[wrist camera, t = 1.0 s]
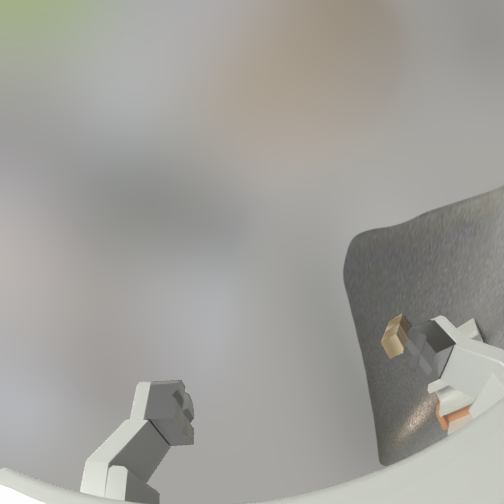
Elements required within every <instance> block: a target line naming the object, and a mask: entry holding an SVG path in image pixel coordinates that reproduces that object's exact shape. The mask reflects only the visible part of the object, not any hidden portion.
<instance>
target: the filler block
mask: <svg viewBox="0 0 504 504" xmlns="http://www.w3.org/2000/svg"><path fill="white" fill-rule="evenodd" d="M409 329H410V326H409V324H408V322H407V321H406V319H405V317H404V315H403V314H401V315H399V316H397V317H395V318H394V319H392V320H390V321H389V323H388V326H387V328H386V331H385V333H384V336H383V338H382V340H381V344H382V346H383V347H384V349H385V351H386V353H387V354H388V356H389V358H390V359H391V358H393V357H395V356H397V355H399V354H401V353H403V350H404V345H405V343H406V342H407V341H408V339H409V338H408V336H407V334H408V330H409Z"/></svg>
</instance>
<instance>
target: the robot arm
mask: <svg viewBox="0 0 504 504" xmlns="http://www.w3.org/2000/svg"><path fill="white" fill-rule="evenodd" d="M407 336H408V338H409V340H408V341H407V342H406V343H405V345H404V350H403V353H404V359H405V361H406V363H407V365H408V366H409V367H410V368H413V369H415V376H416V378H417V379H418V381H419V382H420V383H421V385H422V386H425V385H428V384H430V383H432V382H434V381H436V380H438V379H440V380H441V381H442V382H444V383H446V384H448V385H449V386H451V387H453V388H455V389H457V390H458V391H460V392H462V393H464V394H466V395H467V396H469V397H471V398H473V399H475V400H474V401H473V403H472V404H471V406H470V407H469V413H470V414H471V416H472V417H473V420H472V421H470V422H469V423H467V424H466V425H464V426H463V427H461V428H460V429H458V430H456V431H455V432H453V433H451V434H450V435H448V436H447V437H445V438H443V439H441V440H440V441H438V442H436V443H434V444H433V445H431V446H429V447H427V448H425V449H423V450H421V451H419V452H417V453H415V454H413V455H411V456H409V457H407V458H405V459H403V460H401V461H398V462H396V463H394V464H392V465H389V466H387V467H385V468H383V469H380V470H377V471H375V472H372V473H369V474H367V475H364V476H361V477H359V478H356V479H353V480H350V481H347V482H343V483H340V484H337V485H334V486H331V487H327V488H323V489H320V490H315V491H311V492H307V493H303V494H299V495H294V496H289V497H283V498H278V499H272V500H266V501H258V502H250V503H241V504H504V350H502V349H499V348H497V347H494V346H491V345H488V344H485V343H482V342H479V341H476V340H473V339H470V338H468V339H466V338H465V337H464V336H463V335H462V334H461V333H460V332H459V331H458V330H457V329H456V328H455V327H454V326H453V325H452V324H451V323H450V322H449V321H448V320H447V319H446V318H445V317H444V316H438V317H436V318H434V319H431V320H428V321H426V322H423V323H421V324H418V325H416V326H413V327H411V328H410V329H409V330H408V334H407ZM193 419H194V409H193V403H192V400H191V397H190V395H189V394H188V393H186V392H185V385H184V384H183V382H182V380H172V381H155V382H154V381H153V382H139V384H138V385H137V387H136V392H135V396H134V401H133V406H132V411H131V416H130V420H125V421H124V422H123V423H122V424H121V426H119V428H118V429H117V430H116V431H115V432H114V433H113V434H112V435H111V436H110V437H109V438H108V439H107V440H106V441H105V442H104V443H103V444H102V445H101V446H100V447H99V448H98V449H97V450H96V451H95V452H94V453H93V454H92V455H91V456H90V457H89V458H88V459H87V460H86V464H85V468H84V473H83V478H82V483H81V489H80V492H78V491H73V490H70V489H67V488H63V487H59V486H57V485H53V484H50V483H47V482H44V481H41V480H38V479H36V478H33V477H31V476H28V475H25V474H23V473H21V472H18V471H16V470H13V469H11V468H6V467H5V468H2V469H0V504H159V493H158V492H157V491H156V490H155V489H153V488H152V487H150V486H149V485H148V484H146V483H147V481H148V480H149V478H150V477H151V475H152V474H153V472H154V471H155V469H156V468H157V466H158V465H159V464H160V462H161V461H162V459H163V458H164V456H165V455H166V453H167V452H168V450H169V449H170V446H177V445H191V444H194V442H193V441H194V428H193V427H192V425H191V424H190V423H191V421H192V420H193Z"/></svg>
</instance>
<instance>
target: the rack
mask: <svg viewBox="0 0 504 504" xmlns="http://www.w3.org/2000/svg"><path fill="white" fill-rule="evenodd" d="M456 329H457V330H458V331H459V332H460V333H461V334H462V335H463V336H464V337H465V338H466V339H468V338H470V339H473V340H476V341H479V342H482V343H484V342H483V339H482V337H481V334H480V332H479V329H478V327H477V324H476V322H475V320H474V318H473V319H471V320H469V321H468V322H466V323H464V324H463V325H461V326H459V327H458V328H456ZM428 392H429V394H430V393H433V392H436V394H437V396H438V398H439V400H440V403H438V404H437V407H436V415H437V418H438V420H439V422H440V424H441V426H442V429H443V431H444V430H447V429H448V435H450V434H451V433H453V432H455V431H456V430H458V429H460V428H461V427H463V426H464V425H466V424H467V423H469V422H470V421H472V420H473V417H472V416H471V414H470V413H469V407H470V406H471V404H472V403H473V401H474V400H475V399H473V398H471V397H469V396H467V395H466V394H464V393H462V392H460V391H458V390H457V389H455V388H453V387H451V386H449V385H448V384H446V383H444V382H442V381H441V380H440V379H438V380H436V381H434V382H432V383H430V384H429V385H428Z"/></svg>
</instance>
